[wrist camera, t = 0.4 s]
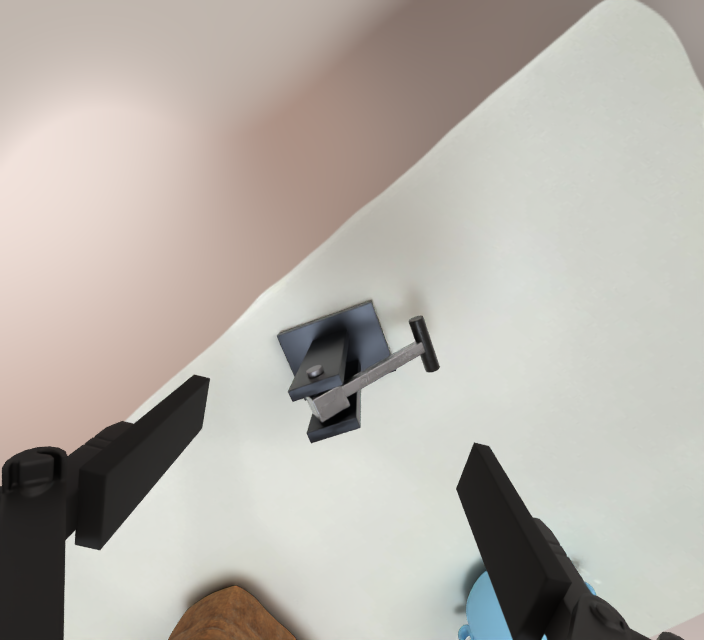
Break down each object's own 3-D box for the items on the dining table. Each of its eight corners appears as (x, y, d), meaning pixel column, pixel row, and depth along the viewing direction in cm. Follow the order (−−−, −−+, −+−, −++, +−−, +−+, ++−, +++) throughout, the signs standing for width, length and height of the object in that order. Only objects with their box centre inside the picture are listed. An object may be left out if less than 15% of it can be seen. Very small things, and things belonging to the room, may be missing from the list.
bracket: (371, 300, 40) (376, 335, 25) (395, 366, 42) (412, 434, 27) (279, 333, 41) (234, 384, 27) (306, 396, 43) (278, 475, 29)
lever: (414, 315, 33) (429, 316, 31) (430, 363, 35) (446, 367, 32) (296, 376, 29) (304, 382, 27) (319, 429, 30) (329, 440, 28)
